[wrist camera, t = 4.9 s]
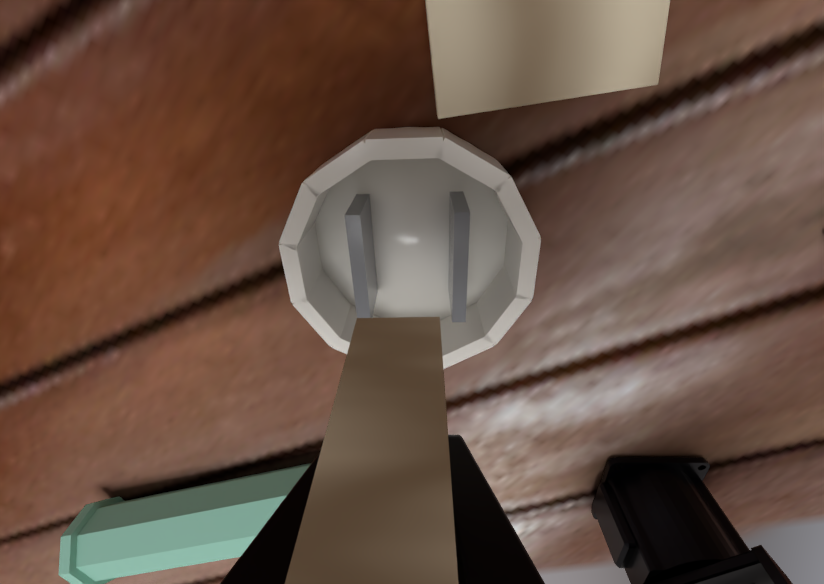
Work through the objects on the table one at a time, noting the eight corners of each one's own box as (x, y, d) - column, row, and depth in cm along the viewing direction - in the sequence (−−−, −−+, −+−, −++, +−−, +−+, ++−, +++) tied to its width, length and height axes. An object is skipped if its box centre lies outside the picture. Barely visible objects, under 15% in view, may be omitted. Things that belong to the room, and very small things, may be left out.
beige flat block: (646, -42, 14) (678, -59, 12) (631, 83, 16) (658, 84, 14) (424, -1, 14) (424, -12, 13) (436, 114, 16) (438, 118, 15)
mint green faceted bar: (415, 527, 21) (39, 591, 24) (440, 538, 25) (118, 591, 29) (405, 419, 24) (79, 489, 28) (428, 446, 29) (145, 503, 33)
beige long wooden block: (439, 317, 9) (491, 1058, 2) (439, 432, 11) (467, 1022, 4) (356, 318, 9) (160, 1040, 2) (370, 432, 11) (286, 1012, 4)
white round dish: (531, 122, 16) (556, 133, 13) (509, 327, 21) (523, 368, 18) (286, 130, 16) (256, 142, 14) (322, 330, 22) (306, 370, 19)
